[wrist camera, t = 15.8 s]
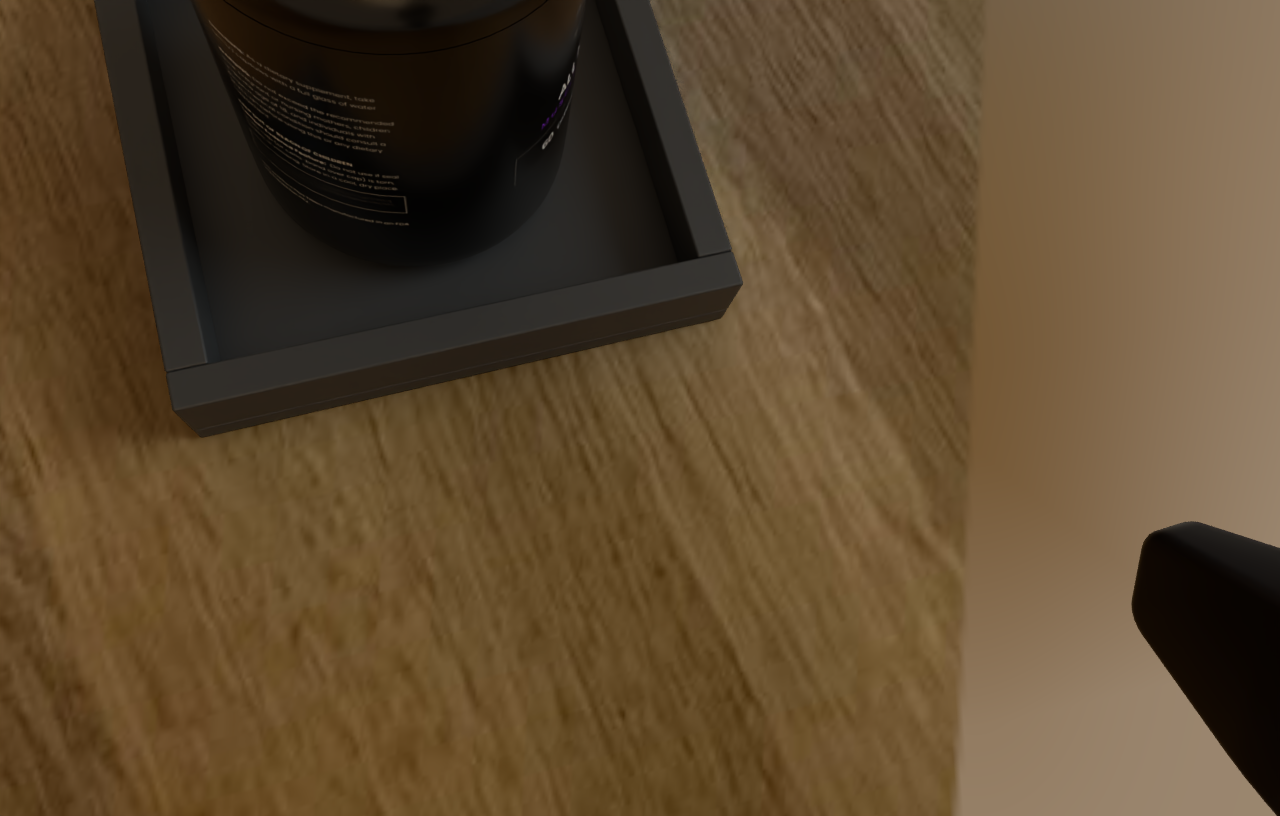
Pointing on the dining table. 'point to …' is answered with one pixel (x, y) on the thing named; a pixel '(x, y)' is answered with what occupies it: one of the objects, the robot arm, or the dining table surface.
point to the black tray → (394, 295)
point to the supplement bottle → (401, 115)
